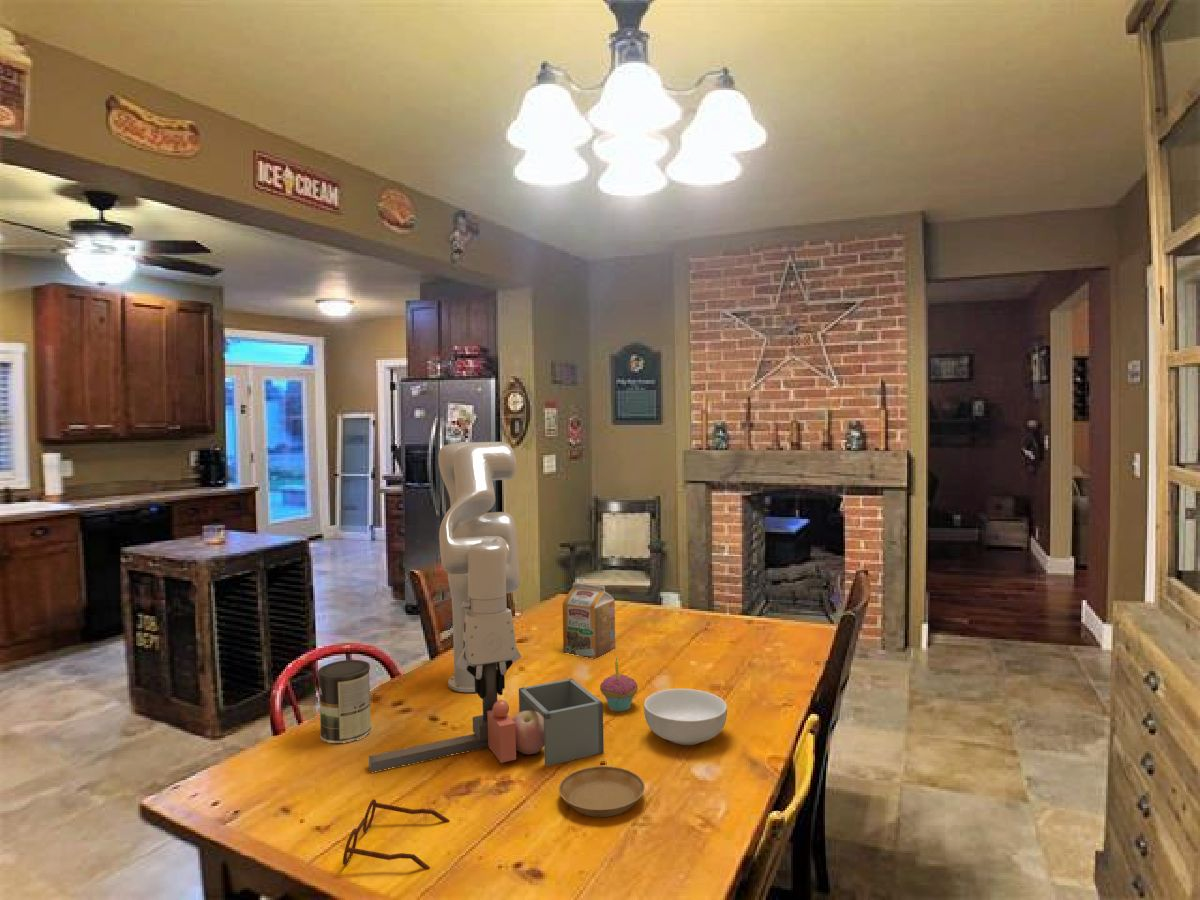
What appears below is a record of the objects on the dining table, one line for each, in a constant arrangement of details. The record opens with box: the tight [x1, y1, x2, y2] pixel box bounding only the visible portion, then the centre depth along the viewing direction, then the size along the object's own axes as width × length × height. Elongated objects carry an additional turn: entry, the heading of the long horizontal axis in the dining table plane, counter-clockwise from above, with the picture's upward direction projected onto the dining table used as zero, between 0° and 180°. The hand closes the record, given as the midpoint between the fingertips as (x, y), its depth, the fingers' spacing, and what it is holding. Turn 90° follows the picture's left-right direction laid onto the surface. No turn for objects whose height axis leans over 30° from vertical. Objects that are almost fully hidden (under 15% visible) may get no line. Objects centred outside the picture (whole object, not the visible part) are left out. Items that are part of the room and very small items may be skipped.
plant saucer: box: [558, 765, 646, 818], centre depth 125 cm, size 15×15×3 cm
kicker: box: [472, 663, 517, 764], centre depth 143 cm, size 14×6×16 cm, turn 26°
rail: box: [368, 733, 489, 773], centre depth 143 cm, size 3×27×2 cm, turn 116°
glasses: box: [342, 798, 450, 870], centre depth 113 cm, size 13×13×5 cm
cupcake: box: [599, 657, 638, 712], centre depth 164 cm, size 9×8×12 cm
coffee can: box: [317, 659, 372, 744], centre depth 153 cm, size 10×10×14 cm
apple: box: [511, 710, 544, 755], centre depth 143 cm, size 8×8×8 cm
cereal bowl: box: [643, 688, 728, 746], centre depth 149 cm, size 17×17×7 cm
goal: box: [518, 677, 605, 767], centre depth 146 cm, size 15×12×10 cm
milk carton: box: [562, 582, 616, 660], centre depth 204 cm, size 11×11×19 cm
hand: (489, 693), depth 147 cm, fingers closed on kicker, 3 cm apart
